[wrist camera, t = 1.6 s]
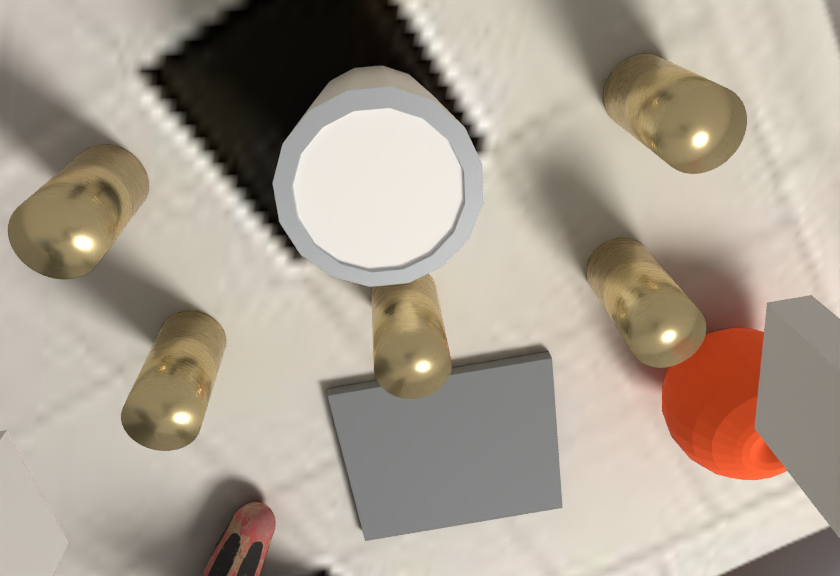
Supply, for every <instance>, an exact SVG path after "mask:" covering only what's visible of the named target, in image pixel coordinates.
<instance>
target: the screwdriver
mask: <svg viewBox="0 0 840 576" xmlns="http://www.w3.org/2000/svg"><path fill="white" fill-rule="evenodd" d="M275 526H276V525H275V516H274V514H273V512H272V510H271V509H270V508H269V507H268V506H267V505H265V504H263V503H260V502H252V503H248V504H245V505H244V506H242V507H241V508H240V509H239V510H238V511H237V512H236V513H235V515H234V516H233V518H232V520H231V521H230V523H229V525H228V526H227V528H226V530H225V531H224V533H223V534H222V536H221V538H220V539H219V541H218V543H217V544H216V546H215V548H214V550H213V552H212V554H211V556H210V558H209V561H208V563H207V565H206V567H205V570H204V573H203V576H259V575H260V572H261V569H262V566H263V563H264V560H265V557H266V554H267V551H268V548H269V544H270V541H271V539H272V536H273V534H274V531H275Z"/></svg>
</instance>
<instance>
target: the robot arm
mask: <svg viewBox="0 0 840 576" xmlns="http://www.w3.org/2000/svg"><path fill="white" fill-rule="evenodd" d="M755 430H756V431H757V432H758V434H759V435H760V436H761V437H762V439H763V440H764V441H765V443H766V444H767V445H768V446H769V448H770V449H771V450H772V452H773V453H774V454H775V455H776V457H777V458H778V459H779V461H780V462H781V463H782V464H783V466H784V467H785V468H786V470H787V471H788V472H789V473H790V475H791V476H792V477H793V479H794V480H795V481H796V483H797V484H798V485H799V486H800V488H801V489H802V490H803V492H804V493H805V494H806V495H807V497H808V498H809V499H810V501H811V502H812V503H813V504H814V506H815V507H816V508H817V510H818V511H819V512H820V513H821V515H822V516H823V517H824V519H825V520H826V521H827V522H828V524H829V525H830V526H831V528H832V529H833V530H834V531H835V533H836V534H837V535H838V537H839V538H840V319H839V318H838V317H837V316H836V315H834V314H833V313H832V312H831V311H830V310H828V309H827V308H826V307H825V306H824V305H822V304H821V303H820V302H819V301H818V300H816V299H815V298H814V297H813V296H812V295H810V296H804V297H799V298H793V299H787V300H781V301H775V302H769V303H767V309H766V319H765V329H764V339H763V349H762V359H761V368H760V378H759V388H758V398H757V408H756V418H755ZM68 544H69V543H68V542H67V540H66V538H65V536H64V534H63V532H62V530H61V529H60V527H59V525H58V523H57V521H56V519H55V518H54V516H53V514H52V512H51V510H50V508H49V507H48V505H47V503H46V501H45V499H44V497H43V496H42V494H41V492H40V490H39V488H38V486H37V485H36V483H35V481H34V479H33V477H32V475H31V474H30V472H29V470H28V468H27V466H26V464H25V463H24V461H23V459H22V457H21V455H20V453H19V452H18V450H17V448H16V446H15V444H14V442H13V441H12V439H11V437H10V435H9V433H8V431H7V430H6V431H0V576H54V574H55V572H56V570H57V567H58V565H59V563H60V561H61V559H62V557H63V554H64V552H65V550H66V548H67V546H68Z"/></svg>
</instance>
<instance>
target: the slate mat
mask: <svg viewBox="0 0 840 576" xmlns="http://www.w3.org/2000/svg"><path fill="white" fill-rule="evenodd" d="M328 400H329V404H330V408H331V411H332V415H333V419H334V423H335V427H336V431H337V434H338V438H339V442H340V446H341V450H342V454H343V457H344V461H345V465H346V469H347V473H348V477H349V480H350V484H351V488H352V492H353V496H354V500H355V503H356V507H357V511H358V515H359V519H360V523H361V527H362V530H363V534H364V538H365V541H368V540H374V539H380V538H385V537H391V536H397V535H403V534H409V533H415V532H421V531H427V530H433V529H439V528H445V527H451V526H457V525H463V524H469V523H475V522H481V521H487V520H493V519H498V518H504V517H510V516H516V515H522V514H528V513H534V512H540V511H546V510H552V509H558V508H562V496H561V482H560V467H559V453H558V439H557V425H556V410H555V396H554V382H553V368H552V358H551V355H550V353H549V352H543V353H537V354H531V355H525V356H519V357H513V358H507V359H502V360H496V361H490V362H484V363H478V364H472V365H466V366H460V367H454V368H451V373H450V376H449V378H448V380H447V382H446V383H445V384H444V385H443V386H442V387H441V388H440V389H439V390H438V391H437V392H435V393H433V394H431V395H429V396H427V397H424V398H419V399H403V398H399V397H396V396H393V395H391V394H389V393H388V392H386V391H385V390H384V389H383V388H382V387H381V386H380V385H379V383H378V382H377V381H371V382H365V383H359V384H353V385H347V386H341V387H335V388H329V389H328Z"/></svg>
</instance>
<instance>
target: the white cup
mask: <svg viewBox="0 0 840 576" xmlns="http://www.w3.org/2000/svg"><path fill="white" fill-rule="evenodd" d="M273 188H274V194H275V199H276V205H277V211H278V217H279V222H280V224H281V225H282V227H283V228H284V230H285V231H286V233H287V235H288V236H289V238H290V239H291V241H292V242H293V244H294V245H295V247H296V248H297V250H298V251H299V253H300V255H302V256H303V257H305V258H306V259H307V260H309V261H310V262H312V263H313V264H314V265H316V266H317V267H319V268H320V269H322V270H323V271H324V272H326V273H327V274H329V275H330V276H332V277H334V278H338V279H342V280H346V281H349V282H353V283H357V284H361V285H365V286H369V287H373V286H383V285H394V284H404V283H410V282H412V281H414V280H416V279H418V278H420V277H422V276H424V275H426V274H428V273H430V272H432V271H435V270H437V269H439V268H441V267H443V266H444V265H445V264H446V263H447V262H448V261H449V260H450V259H451V257H452V256H453V255H454V254H455V253H456V252H457V251H458V250H459V249H460V248H461V247H462V246H463V245H464V244H465V243H466V242H467V241H468V240H469V238H470V235H471V233H472V230H473V228H474V225H475V223H476V220H477V218H478V215H479V213H480V210H481V208H482V205H483V177H482V163H481V161H480V159H479V157H478V154H477V152H476V150H475V148H474V146H473V144H472V142H471V140H470V138H469V135H468V133H467V131H466V129H465V127H464V126H463V125H462V124H461V123H460V122H459V121H458V120H457V119H456V118H455V117H454V116H453V115H452V114H451V113H450V112H449V111H448V110H447V109H446V108H445V107H444V106H443V105H442V104H441V103H440V102H439V101H438V100H437V99H436V98H435V97H434V96H433V95H432V94H431V93H430V92H429V91H427V90H426V89H425V88H424V87H423V86H422V85H421V84H419V83H418V82H417V81H416V80H415V79H414V78H413V77H411V76H410V75H409V74H407V73H403V72H400V71H397V70H394V69H391V68H388V67H385V66H371V67H359V68H353V69H352V70H350V71H348V72H346V73H344V74H342V75H340V76H338V77H337V78H335V79H333V80H331V81H330V82H329V83H328V84H327V85H326V87H325V88H324V89H323V91H322V92H321V93H320V94H319V96H318V97H317V98H316V99H315V101H314V102H313V103H312V105H311V106H310V107H309V109H308V110H307V111H306V113H305V114H304V116H303V117H302V118H301V120H300V121H299V122H298V124H297V125H296V126H295V128H294V129H293V131H292V132H291V133H290V135H289V136H288V137H287V139H286V140H285V141H284V143H283V144H282V148H281V152H280V156H279V160H278V164H277V168H276V172H275V176H274V180H273Z"/></svg>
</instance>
